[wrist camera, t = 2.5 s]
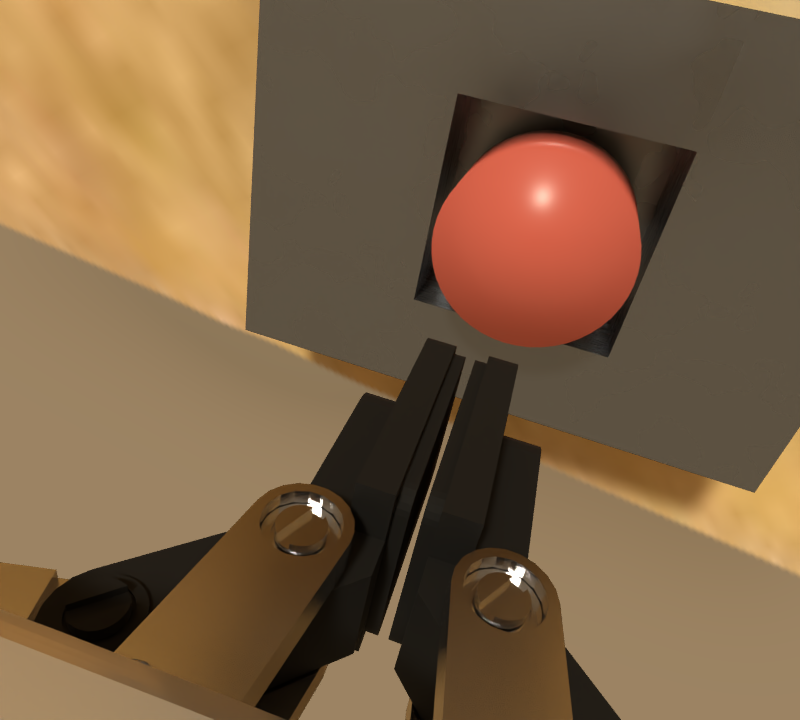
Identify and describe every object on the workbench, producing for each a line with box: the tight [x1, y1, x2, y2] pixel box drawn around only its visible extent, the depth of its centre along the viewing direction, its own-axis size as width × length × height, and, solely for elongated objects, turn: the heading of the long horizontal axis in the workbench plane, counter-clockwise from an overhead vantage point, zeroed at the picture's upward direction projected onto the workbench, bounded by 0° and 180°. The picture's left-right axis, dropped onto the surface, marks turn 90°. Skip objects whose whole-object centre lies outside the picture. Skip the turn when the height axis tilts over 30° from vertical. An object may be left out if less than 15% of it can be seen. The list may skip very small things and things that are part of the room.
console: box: [246, 0, 800, 493], centre depth 22 cm, size 20×14×6 cm
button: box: [432, 130, 641, 347], centre depth 19 cm, size 6×6×3 cm
